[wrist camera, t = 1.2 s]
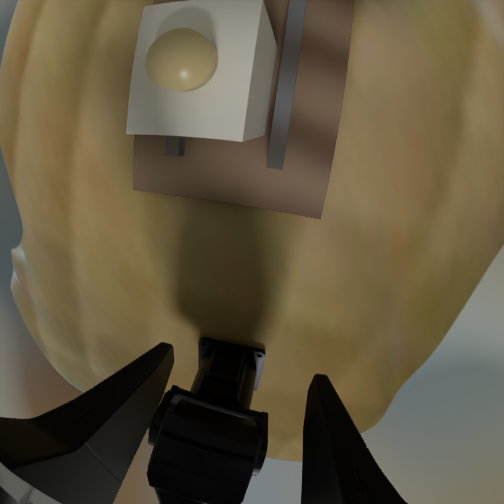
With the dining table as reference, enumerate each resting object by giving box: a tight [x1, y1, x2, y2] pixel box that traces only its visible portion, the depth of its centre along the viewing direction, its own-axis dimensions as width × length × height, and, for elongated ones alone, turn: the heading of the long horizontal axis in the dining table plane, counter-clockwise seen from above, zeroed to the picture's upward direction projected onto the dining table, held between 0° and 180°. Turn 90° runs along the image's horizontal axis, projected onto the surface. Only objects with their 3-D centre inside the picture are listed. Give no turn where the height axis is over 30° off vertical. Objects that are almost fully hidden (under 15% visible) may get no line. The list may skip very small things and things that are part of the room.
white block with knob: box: [126, 0, 278, 142], centre depth 12 cm, size 6×5×9 cm
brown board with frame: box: [133, 0, 354, 219], centre depth 11 cm, size 24×14×9 cm, turn 173°
